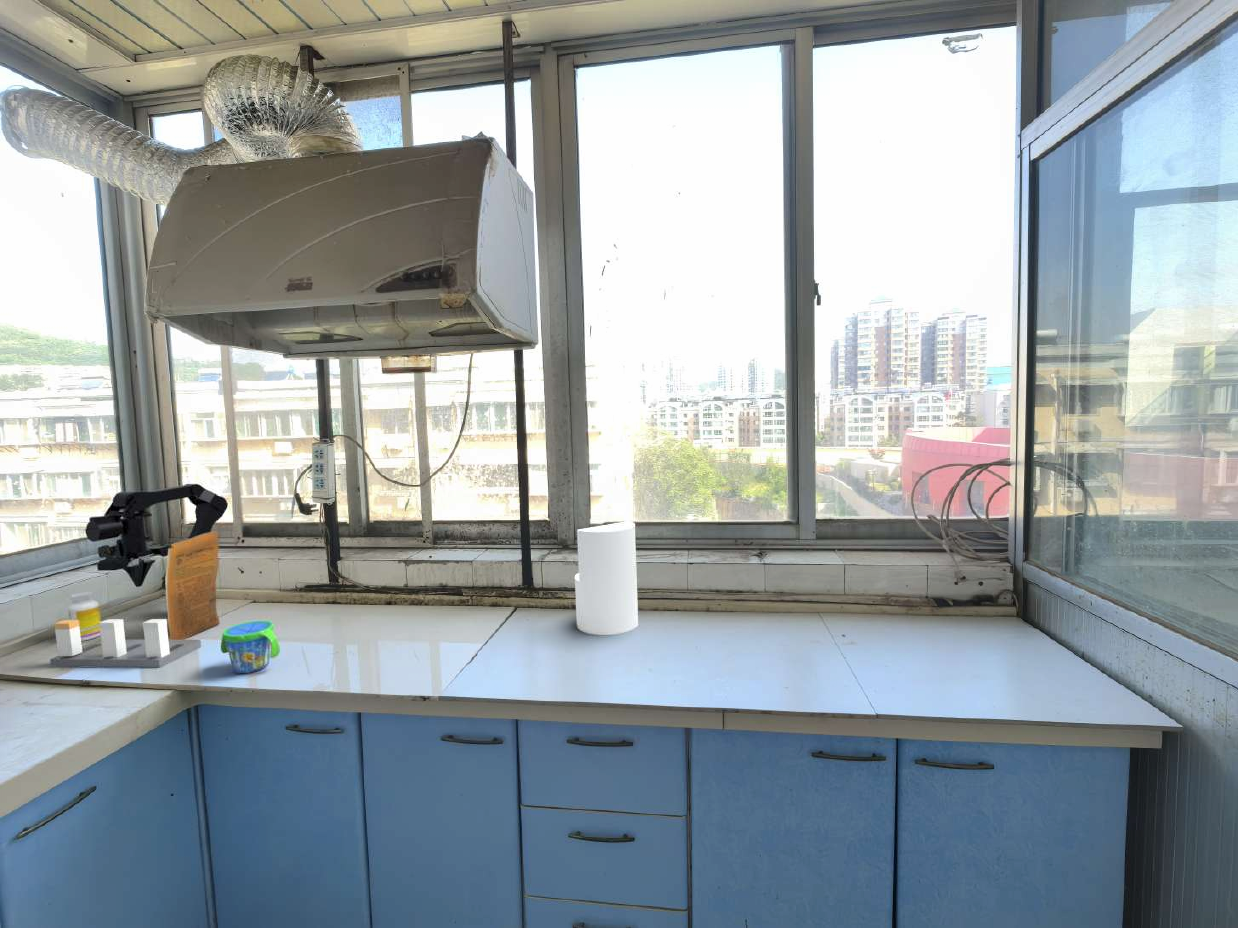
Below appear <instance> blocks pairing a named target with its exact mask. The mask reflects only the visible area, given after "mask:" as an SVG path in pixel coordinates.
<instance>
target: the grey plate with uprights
mask: <svg viewBox="0 0 1238 928" xmlns="http://www.w3.org/2000/svg"><path fill="white" fill-rule="evenodd" d="M167 620H168V618H167V619H166V618H151V619H149V620H146V621H144V622H142V628H143V635H144V639H126V636H125V634H126V633H125V628H124V627H125V626H124V625H125V624H124V623H125V621H124V619H122V618H117V619H116V618H111V619H109V618H108V619H105V620H102V621H101V622H100V623H99V628H100V634H101V635H100V638H99V639H97V640H94V641H92V642H90V643H87V644H84V645H82V652H81V653H79V654H76V655H74V656H58V655H57V656H55V657H52V658H50V659H49V662H50V663H49V664H50V667H51V666H95V667H94V668H150V669H151V668H156V669H157V668H158V669H159V668H162V667H164V666H166V665H168V664H169V663H172V662H174V661H176V660H177V659H180V658H182V657H183V656H186V655H187V654H189V653H192V652H193V651H195V650H198V649H200V648H201V647H202V644H201V643H202V642H201V639H183V640H170V639H169V635H168V621H167ZM97 666H99V667H97ZM103 666H104V667H103Z"/></svg>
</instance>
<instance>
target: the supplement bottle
mask: <svg viewBox="0 0 1238 928" xmlns="http://www.w3.org/2000/svg"><path fill="white" fill-rule="evenodd" d="M93 597H94V593H93V592H92V591H85V592H79V593H75V594H72V595H70V600H71V602H72V603H71V604H70V605H69V606H68V607H67V614H68V620H79V625H80V626H79V628H80V636H81V642H84V641H90V640H93V639H96V638H99V637H101V634H100V628H99V623H100V622H102V621H101V615H100V613H101V612H100V605H99V604H100V603H99V602H98V601H97V600H95V599H93Z"/></svg>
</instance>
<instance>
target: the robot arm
mask: <svg viewBox="0 0 1238 928" xmlns="http://www.w3.org/2000/svg"><path fill="white" fill-rule="evenodd" d="M185 498H187V499H188V500H189V501H190V503H191V504H193V505H194V506H196V507H195V508H194V509H195V510H194V514H195V519H196V520H195V521H194V524H193V527H192V529H191V532H190V534H189V536H188V539H191V538H193V537H195V536H198V535H202V534H205V533H208V532H212V529H213V526H214V525H215V524H216V523H217V521H219V520H220V519H221V518H222V517H223V515H224V514H225V512H226V511H227V509H228V506H229V503H228V501H227V499H226V498H225V497H224V496H220V495H218V494H217V493H214V492H213V491H210V490H209V489H206V488H205V487H203V486H202V485H200V484H198V483H186V484H184V485H183V484H182V485H178V486H173V487H167V488H160V489H155V490H149V491H148V490H147V491H120V492H117V493H116V494H115V495H114V497H113V499H112V502H111V504H110V505H109V507H108V509H107V510H106V512H104V514H103V515H100V516H91V517H89V518H88V519H89V522H87V524H86V526H85V529H84V530H85V536H86V538H87V539H88V540H89V541H90V542H94V543H95V542H99V541H100V542H101V541H104V540H105V541H106V540H109V539H116V538H118V537H120V538H118V539H116V542H115V543H116V544H115V545H112V546H110V545H108V544H106V545H102V546H98V547H97V554H98V557H99V558H101V559H100V560H98V562H97V563H96V567H97V571H99V572H101V571H102V572H104V571H108V572H109V571H118V570H124V571H125V572H126V573H127V575H128V576H129V578H130V579H131V581H132V582H133V584H134V586H135V587H136V588H140V587H142V585H143V584H144V582H145V580H146V577H147V575H148V572H149V571H150V569H151V568H152V566H153V564H154V563H156V560H154V559H152V557H154V556H160V557H161V558H162V557H163V558H164V557H167V556H168V549H169V548H170V546H168V545H154V546H150V547H148V543H147V540H150V539H151V536H150V535H147V534H146V533H147V532H146V525H145V518H148V517H152V516H153V514H152V513H150V512H149V511H147V510H146V509H148V508H151V507H152V506H153V505H156V504H160V503H164V502H170V501H175V500H180V499H185ZM188 539H187V540H188ZM165 577H166V571H165V572H164V575H163V576H162V578H161V580H162V583H161V586H162V587H163V590H165V592H166V585H165Z"/></svg>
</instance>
